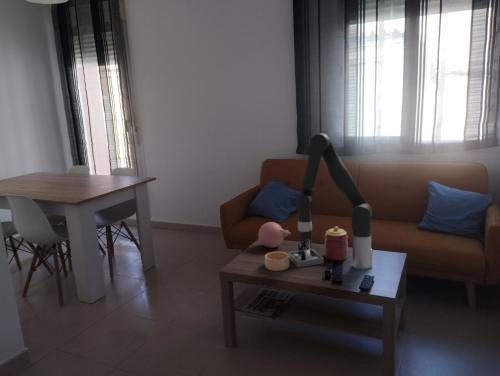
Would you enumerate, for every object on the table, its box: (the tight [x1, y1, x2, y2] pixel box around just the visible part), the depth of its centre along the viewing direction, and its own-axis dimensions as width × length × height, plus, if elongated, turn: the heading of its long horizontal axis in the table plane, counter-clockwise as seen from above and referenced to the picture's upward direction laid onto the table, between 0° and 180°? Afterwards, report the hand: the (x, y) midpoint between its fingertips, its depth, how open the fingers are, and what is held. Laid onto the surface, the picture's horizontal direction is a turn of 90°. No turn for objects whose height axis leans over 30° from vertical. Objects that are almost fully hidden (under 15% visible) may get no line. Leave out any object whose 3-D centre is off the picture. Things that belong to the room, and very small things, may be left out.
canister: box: [323, 225, 349, 261], centre depth 228 cm, size 13×13×18 cm
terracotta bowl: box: [264, 251, 290, 272], centre depth 220 cm, size 13×13×6 cm
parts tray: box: [287, 248, 325, 268], centre depth 226 cm, size 15×15×3 cm
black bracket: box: [321, 266, 333, 282], centre depth 204 cm, size 12×7×5 cm, turn 165°
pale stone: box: [302, 249, 310, 261], centre depth 226 cm, size 5×5×5 cm
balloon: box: [257, 221, 292, 249], centre depth 247 cm, size 15×20×15 cm
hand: (305, 258), depth 226 cm, fingers closed on pale stone, 5 cm apart
